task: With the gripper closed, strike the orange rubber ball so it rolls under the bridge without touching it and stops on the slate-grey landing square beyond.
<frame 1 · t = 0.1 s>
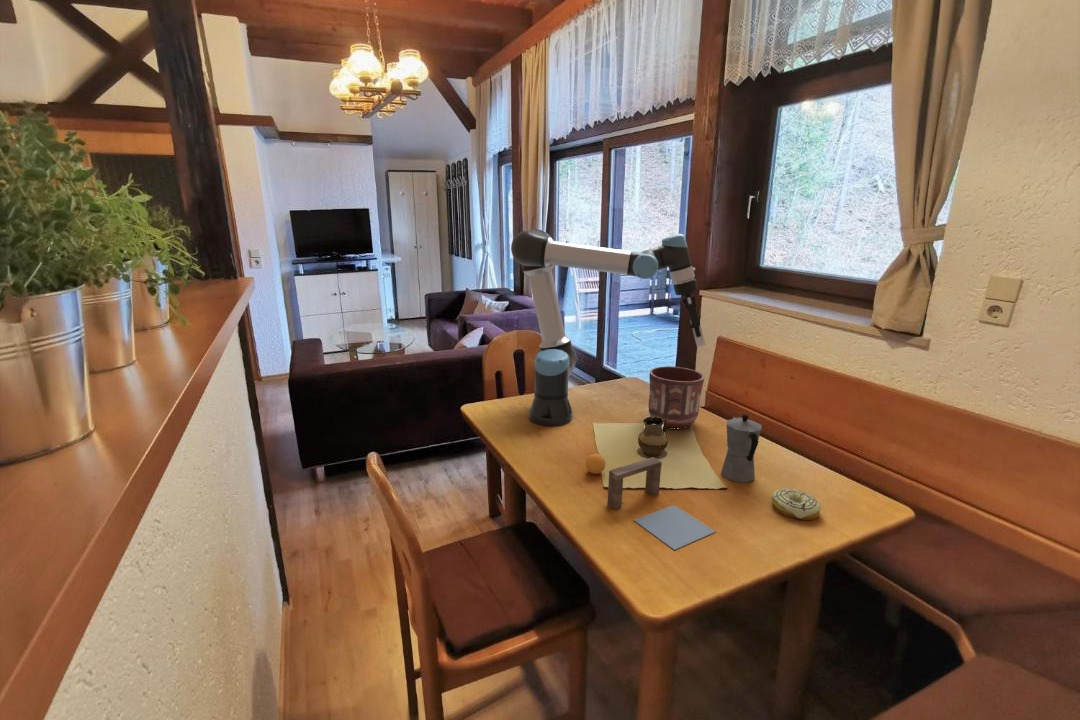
hand: (699, 340, 179), 28 cm above the table, tool tilted 20°, fingers open, 13 cm apart
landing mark: (674, 526, 121), on the table
bridge: (633, 498, 133), on the table
decorated donut: (794, 511, 129), on the table
coffeepot: (738, 477, 145), on the table
pottery: (672, 423, 181), on the table
ball: (595, 463, 145), on the table
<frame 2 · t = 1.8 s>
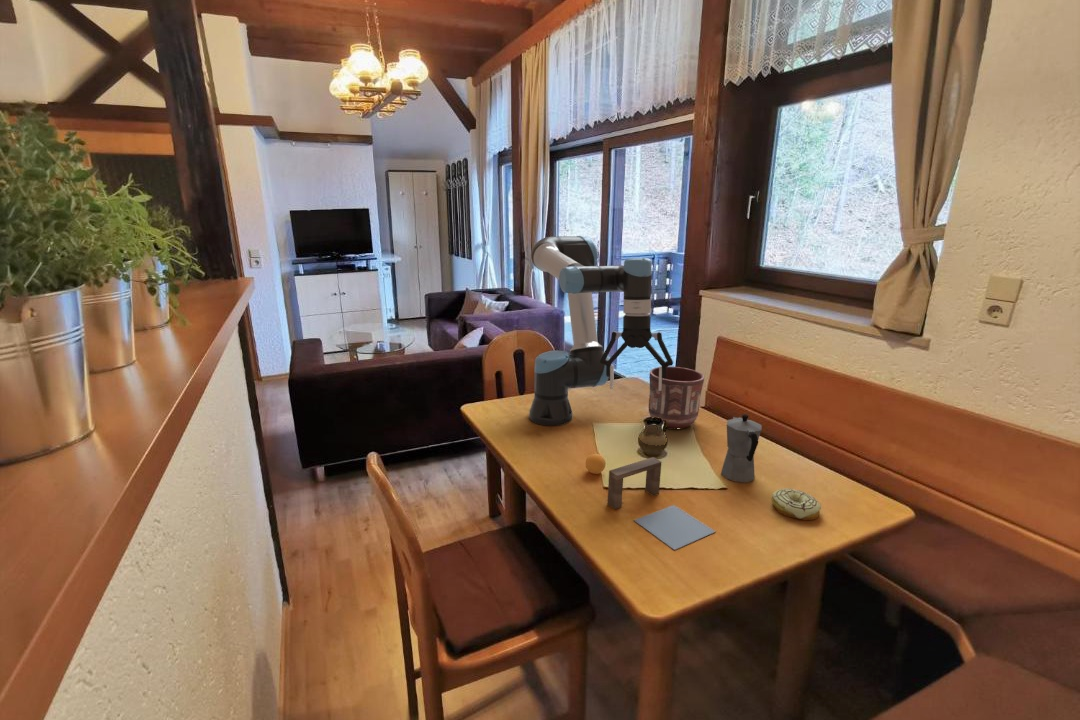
hand: (635, 388, 150), 21 cm above the table, tool pointing down, fingers open, 13 cm apart
nothing on the table moved.
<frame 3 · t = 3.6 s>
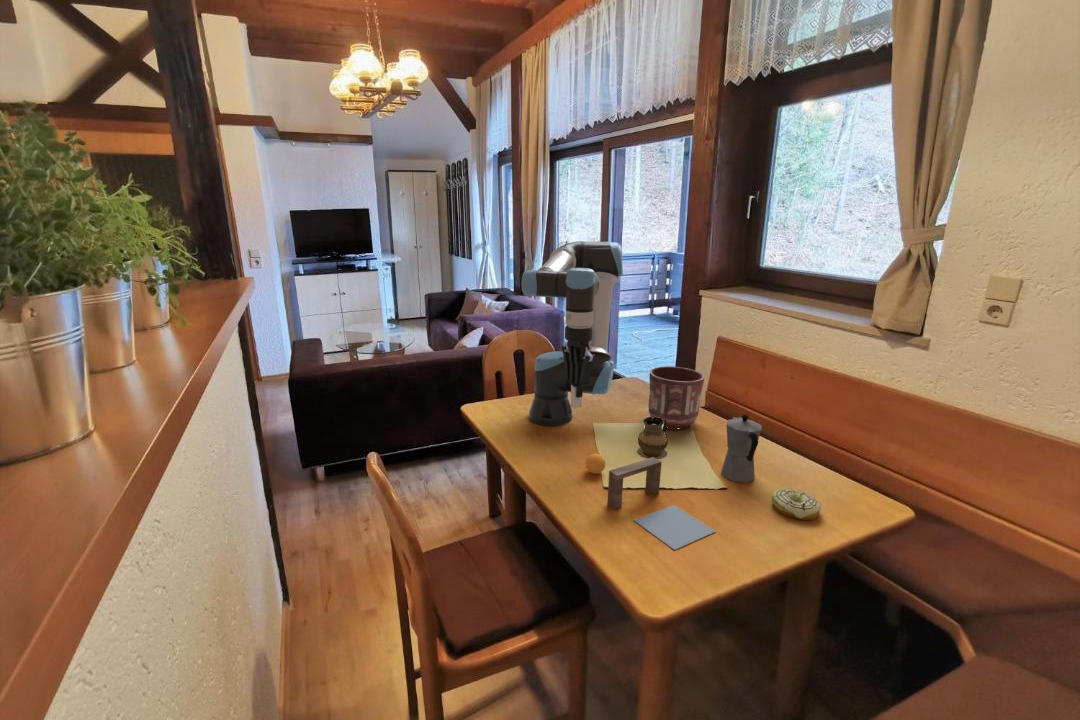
hand: (576, 406, 149), 16 cm above the table, tool pointing down, fingers closed
nothing on the table moved.
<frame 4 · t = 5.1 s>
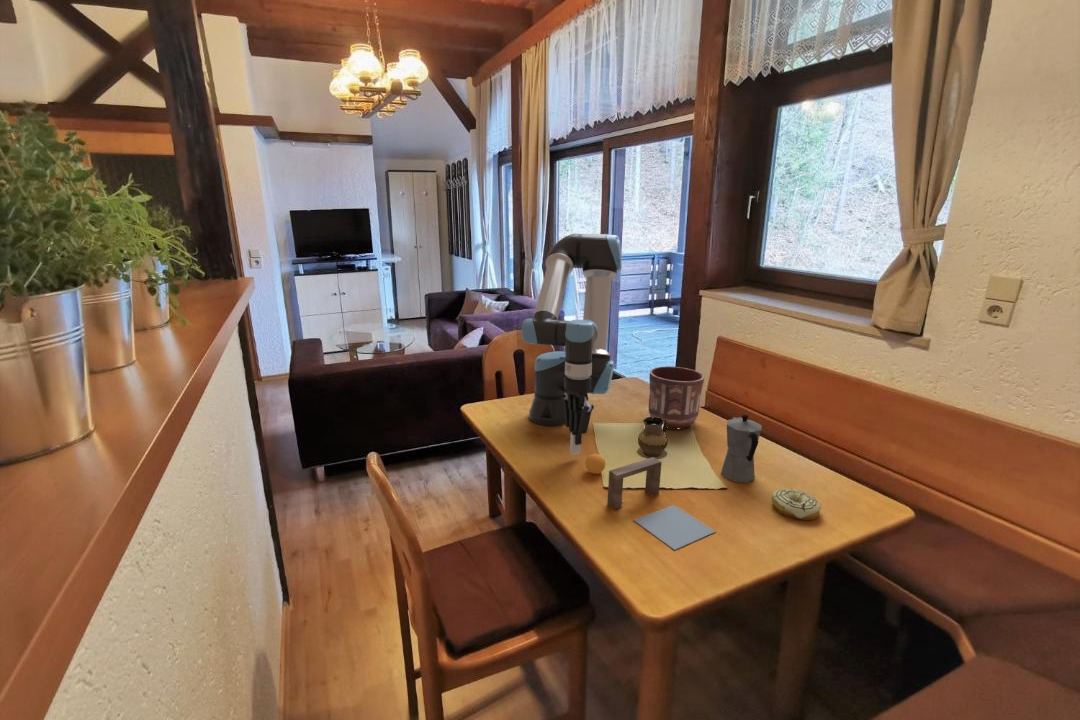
hand: (575, 452, 153), 2 cm above the table, tool pointing down, fingers closed
nothing on the table moved.
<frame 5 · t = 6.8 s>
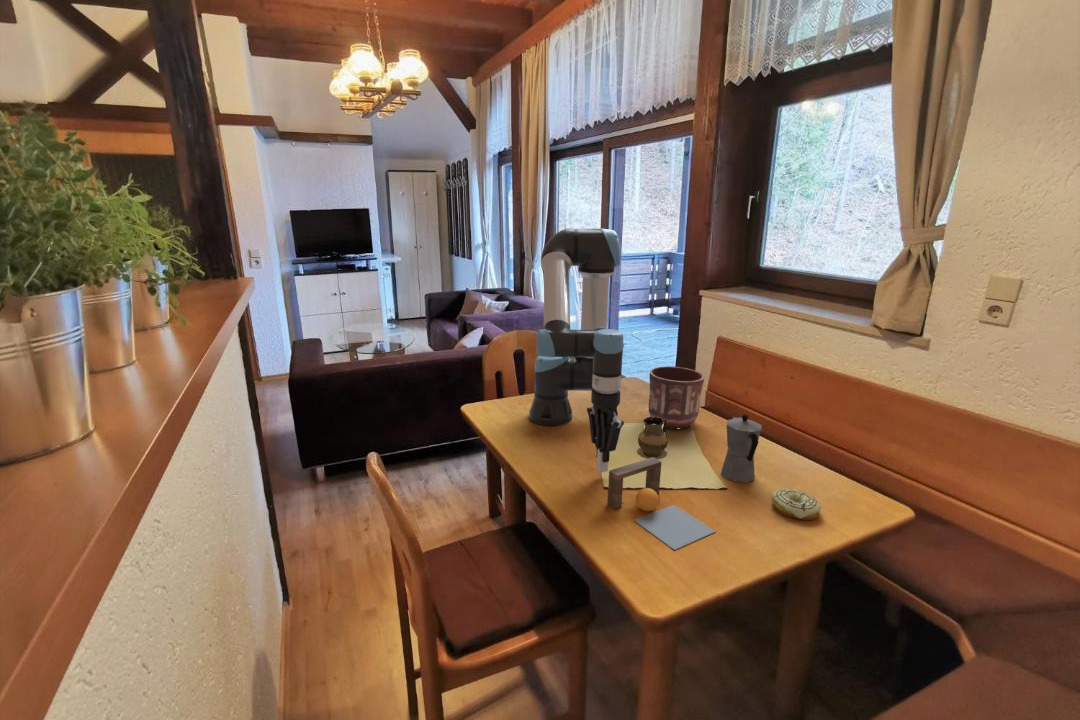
hand: (602, 470, 143), 2 cm above the table, tool pointing down, fingers closed
ball: (647, 499, 127), on the table
everything else where it was.
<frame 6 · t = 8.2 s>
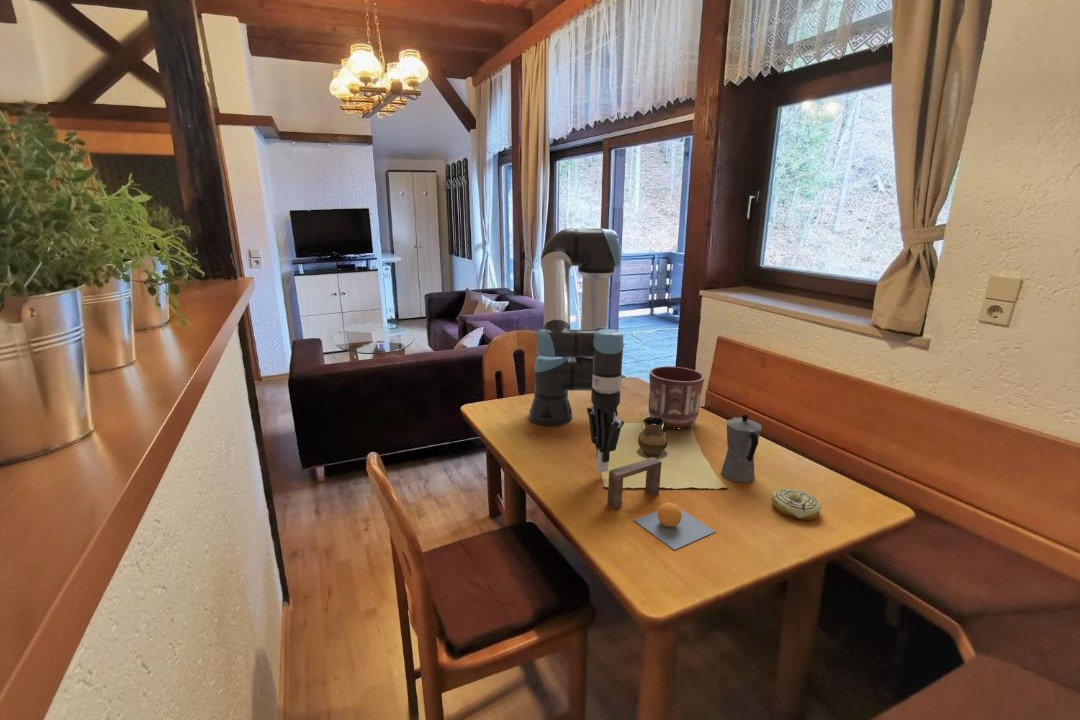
hand: (602, 470, 143), 2 cm above the table, tool pointing down, fingers closed
ball: (669, 514, 121), on the table
everything else where it was.
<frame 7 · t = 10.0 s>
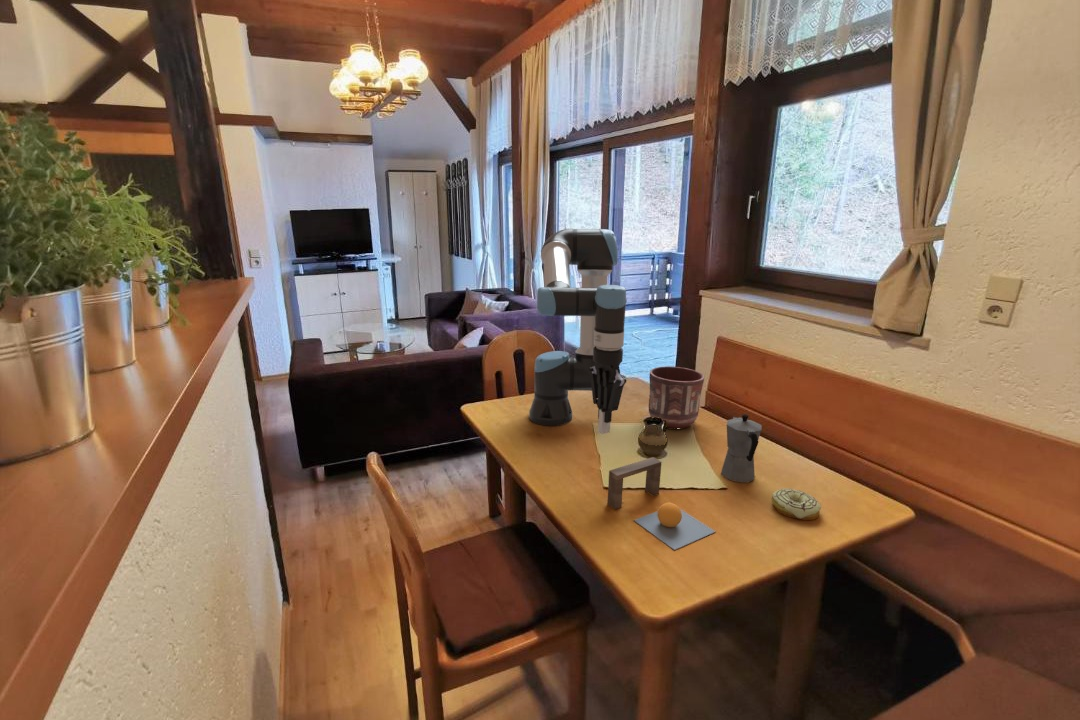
hand: (603, 432, 140), 13 cm above the table, tool pointing down, fingers closed
nothing on the table moved.
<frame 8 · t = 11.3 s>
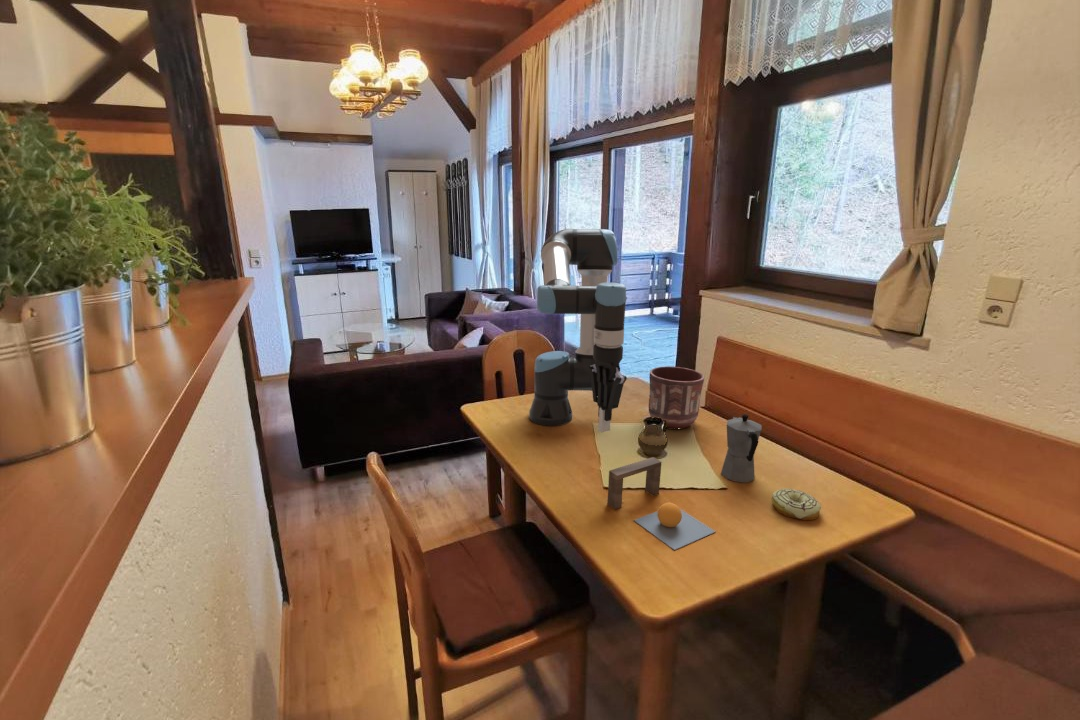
hand: (604, 430, 139), 14 cm above the table, tool pointing down, fingers closed
nothing on the table moved.
at the end: ball 1.3 cm from the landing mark (horizontally); ball never touched bridge; ball at rest at the end (0.0 cm/s) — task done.
